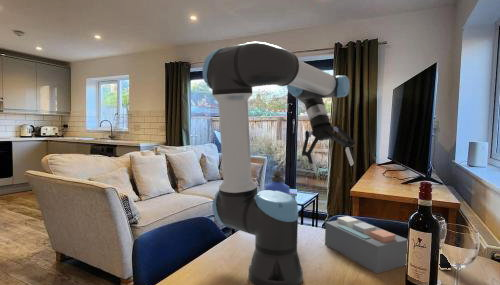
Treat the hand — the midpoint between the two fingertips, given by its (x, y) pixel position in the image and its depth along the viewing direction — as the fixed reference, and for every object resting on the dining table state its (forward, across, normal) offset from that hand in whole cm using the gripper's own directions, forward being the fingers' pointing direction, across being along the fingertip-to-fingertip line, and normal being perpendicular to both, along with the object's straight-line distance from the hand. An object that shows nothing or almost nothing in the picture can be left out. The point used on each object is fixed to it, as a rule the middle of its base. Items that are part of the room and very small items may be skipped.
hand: (333, 167), depth 110 cm
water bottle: (+18, +26, -14) cm, 34 cm away
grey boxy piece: (+30, -2, -3) cm, 30 cm away
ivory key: (+21, 0, -5) cm, 22 cm away
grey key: (+25, -3, 0) cm, 25 cm away
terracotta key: (+29, -6, +6) cm, 30 cm away
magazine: (+37, -22, +1) cm, 43 cm away
